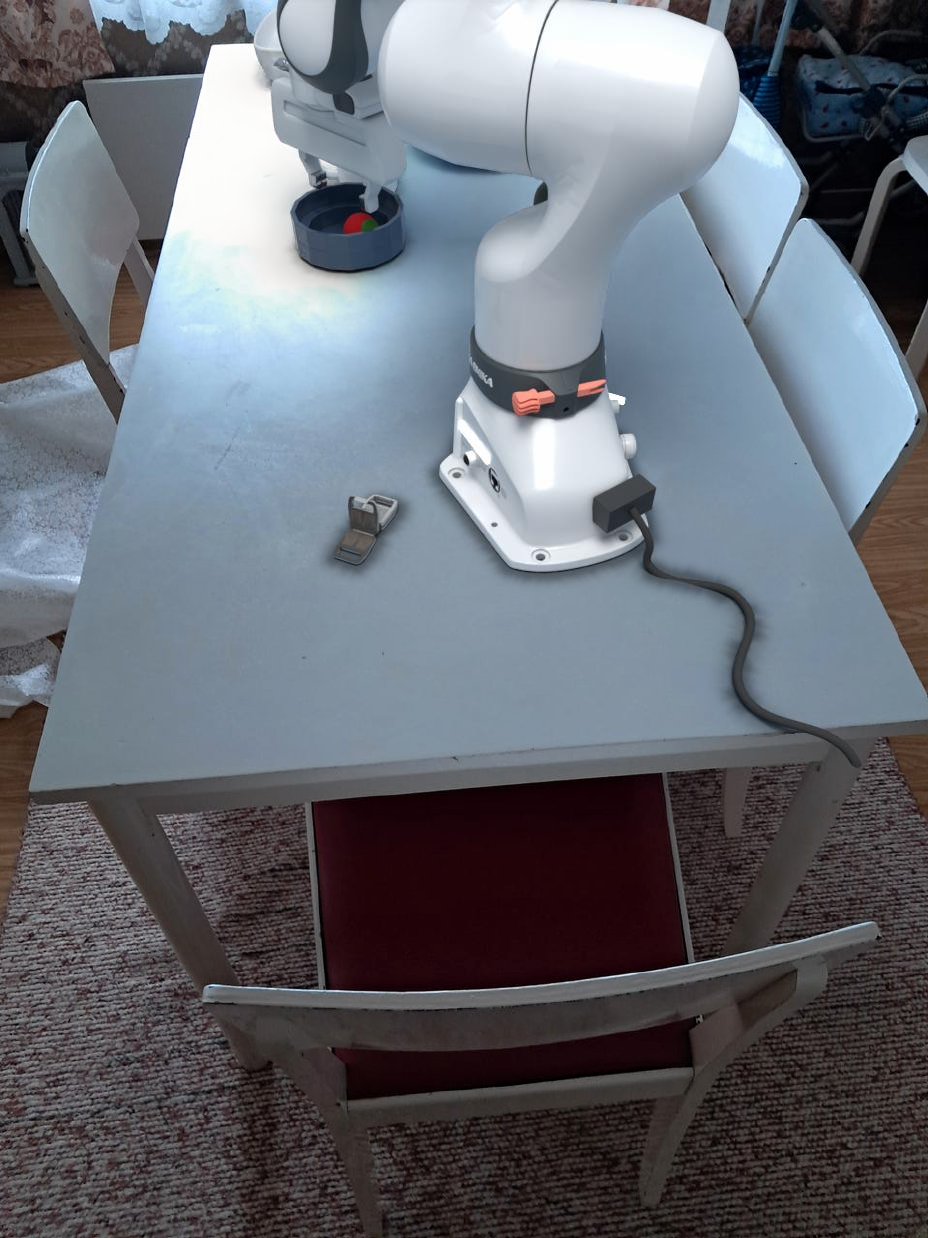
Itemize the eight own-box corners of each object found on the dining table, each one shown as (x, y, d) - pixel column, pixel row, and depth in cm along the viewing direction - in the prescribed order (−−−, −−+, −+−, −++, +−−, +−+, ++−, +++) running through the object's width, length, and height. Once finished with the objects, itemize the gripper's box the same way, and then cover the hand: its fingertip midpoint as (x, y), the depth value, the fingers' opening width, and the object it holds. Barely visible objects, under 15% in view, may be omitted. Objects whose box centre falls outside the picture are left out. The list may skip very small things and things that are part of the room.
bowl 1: (254, 97, 145) (244, 45, 139) (275, 52, 158) (267, 2, 152) (376, 98, 144) (371, 45, 138) (387, 52, 157) (383, 2, 151)
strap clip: (373, 498, 84) (368, 464, 81) (401, 506, 83) (397, 473, 80) (330, 558, 79) (324, 525, 76) (360, 567, 78) (354, 534, 75)
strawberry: (366, 253, 114) (386, 250, 111) (337, 249, 112) (356, 245, 108) (366, 217, 113) (386, 212, 110) (337, 212, 111) (356, 207, 107)
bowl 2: (417, 263, 111) (415, 225, 107) (308, 282, 109) (302, 243, 105) (390, 212, 120) (387, 175, 116) (288, 228, 117) (282, 191, 113)
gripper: (249, 60, 101) (271, 181, 112) (370, 107, 93) (381, 233, 103) (291, 45, 104) (308, 165, 115) (411, 89, 95) (418, 214, 106)
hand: (343, 197), depth 109 cm, fingers open, 8 cm apart
